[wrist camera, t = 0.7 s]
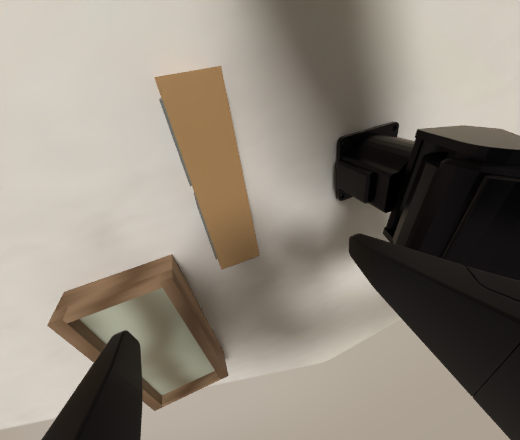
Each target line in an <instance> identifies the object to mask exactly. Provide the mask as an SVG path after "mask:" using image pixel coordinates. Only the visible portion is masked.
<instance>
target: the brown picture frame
mask: <svg viewBox="0 0 520 440" xmlns="http://www.w3.org/2000/svg"><path fill="white" fill-rule="evenodd" d="M47 326H49V327H50V328H51V329H52V330H54V331H55V332H56V333H57V334H59V335H60V336H61V337H62V338H64V339H65V340H66V341H67V342H69V343H70V344H71V345H72V346H74V347H75V348H76V349H77V350H79V351H80V352H81V353H83V354H84V355H85V356H86V357H88V358H89V359H90V360H91V361H93V362H95V360H96V359H97V358H98V356H99V355H100V353H101V352H102V350H103V349H104V347H105V346H106V344H107V343H108V341H109V340H110V338H111V337H112V336H113V335H114V334H116V333H119V332H121V331H124V330H127V331H129V332H130V333H131V334H132V335H133V336H134V337H135V338H136V339H137V340H138V341H139V343H140V348H141V366H142V384H143V398H142V401H143V402H144V403H146V404H147V405H148V406H149V407H151V408H152V409H153V410H154V411H155V410H158V409H159V408H162V407H164V406H166V405H168V404H170V403H172V402H174V401H176V400H178V399H181V398H183V397H185V396H187V395H189V394H191V393H193V392H195V391H197V390H199V389H202V388H204V387H206V386H208V385H210V384H212V383H214V382H216V381H218V380H220V379H223V378H225V377H227V376H228V372H227V367H226V362H225V357H224V353H223V350H222V348H221V346H220V344H219V342H218V340H217V338H216V337H215V335H214V333H213V331H212V329H211V327H210V325H209V323H208V322H207V320H206V318H205V316H204V314H203V312H202V310H201V308H200V306H199V305H198V303H197V301H196V299H195V297H194V295H193V293H192V291H191V289H190V288H189V286H188V284H187V282H186V280H185V278H184V276H183V274H182V273H181V271H180V269H179V267H178V265H177V263H176V261H175V259H174V257H173V256H172V255H169V256H166V257H164V258H161V259H158V260H155V261H152V262H149V263H147V264H144V265H141V266H138V267H135V268H132V269H129V270H127V271H124V272H121V273H118V274H115V275H112V276H109V277H107V278H104V279H101V280H98V281H95V282H92V283H89V284H87V285H84V286H81V287H78V288H75V289H72V290H69V291H67V292H64V293H63V295H62V297H61V299H60V301H59V303H58V305H57V307H56V309H55V311H54V313H53V315H52V317H51V319H50V321H49V323H48V325H47Z"/></svg>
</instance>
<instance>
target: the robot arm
mask: <svg viewBox="0 0 520 440" xmlns="http://www.w3.org/2000/svg"><path fill="white" fill-rule="evenodd" d="M392 128H393V129H392ZM398 129H399V124H398V123H397V122H390V123H387V124H383V125H380V126H376V127H373V128H370V129H366V130H363V131H359V132H356V133H352V134H349V135H346V136H342V137H340V138H339V140H338V143H337V170H336V198H337V199H339V200H340V201H342V200H345V199H348V198H351V197H355V198H357V199H358V200H360V201H362V202H363V203H369V204H371V205H372V206H374V207H376V208H378V209H379V210H381V211H383V212H385V213H387V212H390V211H391V214H390V217H389V220H388V223H387V226H386V227H385V228H384V231H383V234H384V235H385V237H386V238H387V239H388V240H389V242H386V241H383V240H380V239H377V238H373V237H370V236H367V235H363V234H355V235H353V236H351V237H350V238H349V254H350V256H351V257H352V259H353V260H354V262H355V263H356V264H357V266H358V267H359V268H360V270H361V271H362V272H363V274H364V275H365V277H366V278H367V279H368V281H369V282H370V283H371V285H372V286H373V287H374V288H375V289H376V291H377V292H378V293H379V294H380V295H381V296H382V297H383V298H384V300H385V301H386V302H387V303H388V304H389V305H390V306H391V307H392V308H393V309H394V311H395V312H396V313H397V314H398V315H399V316H400V317H401V318H402V319H403V321H404V322H405V323H406V324H407V325H408V326H409V327H410V328H411V329H412V331H413V332H414V333H415V334H416V335H417V336H418V337H419V338H420V339H421V341H422V342H423V343H424V344H425V345H426V346H427V347H428V348H429V349H430V351H431V352H432V353H433V354H434V355H435V356H436V357H437V358H438V359H439V360H440V362H441V363H442V364H443V365H444V366H445V367H446V368H447V369H448V371H449V372H450V373H451V374H452V375H453V376H454V377H455V378H456V379H457V380H458V382H459V383H460V384H461V385H462V386H463V387H464V388H465V389H466V390H467V392H468V393H469V394H470V395H471V396H473V398H474V400H475V401H476V402H477V403H478V404H479V405H480V406H481V407H482V408H483V410H485V412H486V413H487V414H488V415H489V416H490V417H491V418H492V420H493V421H494V422H495V423H496V424H497V425H498V426H499V427H500V428H501V430H503V432H504V433H505V434H506V435H507V436H508V437H509V438H510V440H520V136H519V135H516V134H514V133H511V132H508V131H506V130H503V129H496V128H485V127H474V126H450V127H438V128H425V129H417V132H416V135H415V138H416V140H415V141H411V140H407V139H402V138H397V135H398ZM343 141H345V142H344V144H343ZM341 195H342V196H341ZM142 398H143V384H142V366H141V348H140V343H139V341H138V340H137V339H136V338H135V337H134V336H133V335H132V334H131V333H130V332H129V331H127V330H124V331H121V332H119V333H116V334H114V335H113V336H112V337H111V338H110V340H109V341H108V343H107V344H106V346H105V347H104V349H103V350H102V352H101V353H100V355H99V356H98V358H97V359H96V360H95V362H94V363H93V365H92V366H91V368H90V369H89V371H88V372H87V374H86V375H85V377H84V378H83V380H82V381H81V383H80V384H79V385H78V387H77V388H76V390H75V391H74V393H73V394H72V396H71V397H70V399H69V400H68V402H67V403H66V405H65V406H64V408H63V409H62V410H61V412H60V413H59V415H58V416H57V418H56V419H55V421H54V422H53V424H52V425H51V427H50V428H49V430H48V431H47V433H46V434H45V435H44V437H43V438H42V440H140V436H141V417H142Z"/></svg>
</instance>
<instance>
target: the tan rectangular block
mask: <svg viewBox="0 0 520 440" xmlns="http://www.w3.org/2000/svg"><path fill="white" fill-rule="evenodd" d="M155 80H156V83H157V86H158V89H159V92H160V95H161V97H162V98H160V99H159V100H160V103H161V105H162V108H163V111H164V114H165V117H166V120H167V122H168V125H169V128H170V131H171V134H172V136H173V139H174V142H175V145H176V148H177V151H178V153H179V156H180V159H181V162H182V165H183V167H184V170H185V173H186V176H187V179H188V182H189V184H190V186H193V189H194V195H195V199H196V203H197V207H198V210H199V213H200V215H201V218H202V221H203V224H204V227H205V229H206V232H207V235H208V238H209V241H210V244H211V246H212V249H213V252H214V255H215V258H216V259H218V261H219V264H220V267H221V270H222V269H225V268H227V267H230V266H233V265H236V264H238V263H241V262H244V261H246V260H249V259H252V258H255V257H257V256H260V255H259V250H258V246H257V241H256V236H255V231H254V226H253V221H252V216H251V211H250V206H249V202H248V197H247V192H246V187H245V182H244V177H243V172H242V167H241V162H240V158H239V153H238V148H237V143H236V138H235V133H234V128H233V123H232V119H231V114H230V109H229V104H228V99H227V94H226V89H225V84H224V79H223V75H222V70H221V66H218V67H212V68H207V69H201V70H195V71H189V72H183V73H177V74H171V75H165V76H159V77H155Z"/></svg>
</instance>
